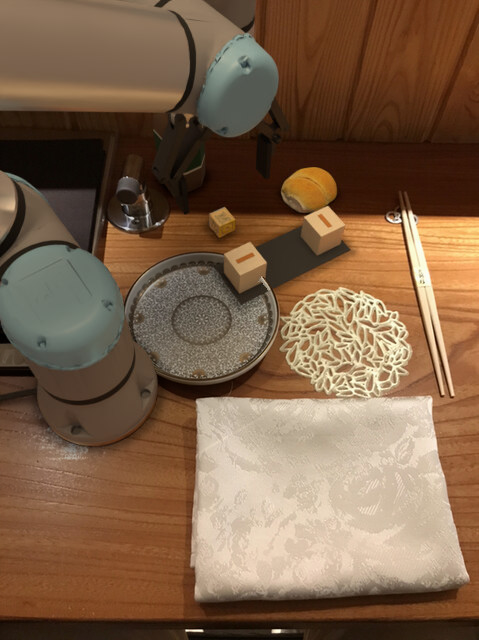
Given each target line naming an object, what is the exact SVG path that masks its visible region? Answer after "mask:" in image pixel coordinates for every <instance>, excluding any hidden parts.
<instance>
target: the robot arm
mask: <svg viewBox="0 0 479 640" xmlns="http://www.w3.org/2000/svg"><path fill="white" fill-rule="evenodd" d="M256 1H257V0H0V111H1V112H5V111H6V112H71V113H72V112H80V113H82V112H83V113H85V112H86V113H87V112H88V113H89V112H90V113H153V114H154V113H168V123H167V125H166V128H165V131H164V134H163V137H162V140H161V143H160V145H159V148H158V151H157V153H156V154H155V157H154V160H153V163H152V166H151V169H150V171H151V173H152V174H153V175H154V177H155V178H156V179H157V182H158V183H160V184H161V185H165V184H164V183H166V182H167V185H168V188H167V190H168V192H169V193H170V195H172V197H173V198H174V200H175V204H176V205H177V207H178V208H179V209H180V211H181V213H182V214H183V215H184V216H187V215H188V214H190V206H189V193H187V183H186V179H185V177H184V176H183V174H184V172H185V171H186V169H187V167H188V166H189V164H190V163H191V161H192V160H193V158H194V157H195V155H196V153H197V152H198V150H199V149H200V147H201V146H202V144H203V142H204V143H205V142H208V141H209V140H210V139H211V137H212V135H213V134H214V133H215V134H217V135H218V136H221V137H223V138H235V137H236V138H237V137H240V136H241V135H244V134H246V133H248V132H250V131H251V130H253V129H256V130H257V131H259V133H257V134H256V156H255V170H256V171H257V172H258V173H259V174H260V175H261V176H262V178H263V179H264V180H265V181H266V180H268V179H270V177H271V164H272V157H274V156H275V154H276V150H277V149H276V148H277V145H280V143H282V140H283V138H282V136H281V135H280V134H282V133H283V134H286V133H288V132H289V131H290V129H291V126H290V124H289V122H288V120H287V118H286V116H285V114H284V112H283V109H282V108H281V106H280V104H279V102H278V100H277V98H276V96H277V93H278V88H279V82H280V81H279V80H280V79H279V77H280V76H279V70H278V66H277V64H276V62H275V60H274V58H273V57H272V56H271V55H270V54H269V53H268V52H267V51H266V50H265V49H264V48H263V47H262V46H261V45H260V44H259V43H258V42H256V38H255V25H256V23H255V19H256V5H257V4H256ZM267 114H269V116H270V118H271V120H272V122H270V124H269V123H268V122H267V121H266V120H264V118H265V117H266V115H267ZM190 118H191V119H190ZM189 120H190V121H189ZM188 122H189V123H188ZM200 123H201V124H202V125H203V126H204V129H203V128H202V127H201V126H200ZM187 127H188V129H187V131H186V128H187ZM185 131H186V132H185ZM120 289H121V288H120V287H119V285H118V282H117V281H116V279H115V278H114V276H113V274H112V273H111V271H110V270H109V268H108V267H107V266H106V264H104V263H103V262H102V260H100V259H99V258H98V257H97V256H95V255H93V253H90V252H89V251H87V250H85V249H83V248H81V246H80V245H79V243H78V242H77V241H76V239H75V238H74V237H73V235H72V234H71V233H70V231H69V230H68V229H67V228H66V226H65V225H64V223H63V222H62V220H61V219H60V218H59V217H58V215H57V214H56V213H55V211H54V210H53V208H52V206H51V205H50V203H49V201H48V200H47V199H46V197H45V196H44V195H43V194H42V193H41V192H40V191H39V190H38V189H37V188H36V187H34V186H33V185H32V184H31V183H30V182H28V181H27V180H26V179H24V178H22V177H20V176H18V175H15V174H12V173H10V172H5V171H2V170H1V169H0V326H1V328H2V331H3V332H4V334H5V336H6V338H7V340H8V341H9V342H10V344H11V345H12V346H13V347H14V348H15V350H16V351H18V352H19V354H20V355H21V357H22V358H23V360H24V361H25V364H26V365H27V366H28V368H29V369H30V371H31V373H32V374H33V375H34V377H35V378H36V380H37V387H33V388H29V389H28V388H27V389H22V390H17V391H12V392H7V393H2V394H1V393H0V403H1V402H6V401H11V400H16V399H22V398H28V397H32V396H36V397H37V399H36V400H37V403H38V407H39V410H40V413H41V415H42V417H43V419H44V421H45V422H46V424H47V425H48V426H49V428H50V429H51V430H52V432H54V433H55V434H56V435H57V436H59V437H60V438H61V439H64V440H65V441H67V442H70V443H71V444H75V445H78V446H84V447H101V446H107V445H112V444H114V443H117V442H119V441H122V440H124V439H126V438H127V437H129V436H131V435H132V434H133V433H134V432H136V431H137V430H138V429H139V428H141V426H142V425H143V424H144V423H145V422H146V421H147V419H148V418H149V417H150V416H151V413H152V411H153V410H154V408H155V405H156V402H157V398H158V394H159V381H158V375H157V371H156V372H155V370H156V368H155V369H154V367H155V365H154V362H153V360H152V359H151V358H150V356H149V354H148V352H147V351H146V350H145V349H144V348H143V347H142V346H141V345H140V344H139V343H137V341H135V340H134V339H133V337H132V334H131V330H130V326H129V323H128V319H127V316H126V312H125V311H126V310H125V306H124V297H123V295H122V293H121V290H120ZM153 365H154V366H153Z"/></svg>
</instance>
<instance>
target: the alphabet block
mask: <svg viewBox="0 0 479 640" xmlns="http://www.w3.org/2000/svg"><path fill="white" fill-rule="evenodd" d="M208 226H209V228H210V229H211V230H212V231H213V233H214V234H215V236H216V237H218V239H220V238H222V237H224V236H226V235H227V234H229V233H232V232H235V230H236V218H235V217H234V216H233V215H232V214H231V213H230V211H229V210H228V209H227V208H226V207H225V206H224V207H221V208H219V209H216V210H214V211H213V212H210V213H208Z"/></svg>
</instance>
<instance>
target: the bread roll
mask: <svg viewBox="0 0 479 640" xmlns="http://www.w3.org/2000/svg"><path fill="white" fill-rule="evenodd" d="M280 195H281V198H282V200H283V202H284V203H285V204H286V205H288V206H289V207H290V209H293V210H295V211H296V212H298V213H300V214H311V213H314V212H316V211H318V210H320V209H322V208H324V207H327V206H328V205H329V204H330V203H332V202H333V201H334V200H335V199H336V197H337V195H338V188H337V183H336V181H335V179H334V177H333V176H332V175H331V174H330V173H329V172H328V171H326V170H324V169H323V168H320V167H314V166H313V167H305V168H300V169H298V170H295V172H294V173H292V174H291V175H290V176H289V177H288V178H287V179H285V180H284V182H283V184H282V186H281V189H280Z"/></svg>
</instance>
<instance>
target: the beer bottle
mask: <svg viewBox="0 0 479 640" xmlns="http://www.w3.org/2000/svg"><path fill="white" fill-rule="evenodd" d="M190 119H191V118H190ZM189 121H190V120H189ZM167 123H168V113H153V116H152V130H153V137H154V145H155V152H156V154H157V151H158V148H159V145H160V143H161V140H162V137H163V134H164V131H165V128H166V125H167ZM188 123H189V122H188ZM200 126H201V127H202V128H203V129H204V128H205V126H203V125H202V124H201V123H200ZM187 129H188V127H187V128H186V131H187ZM186 131H185V132H186ZM205 175H206V145H205V141H204V142H203V144H202V146H201V147H200V149H199V150H198V152H197V153H196V155H195V157H194V158H193V160H192V161H191V163H190V164H189V166H188V167H187V169H186V171H185V172H184V174H183V176H184V177H185V179H186V183H187V194H189V193H190V192H193V191H194V190H197V189H198V188H201V187H202V186H203V183H204V179H205ZM163 185H164V186H165V187H166V188H167V189H168V185H167V182H166V183H164V184H163Z"/></svg>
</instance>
